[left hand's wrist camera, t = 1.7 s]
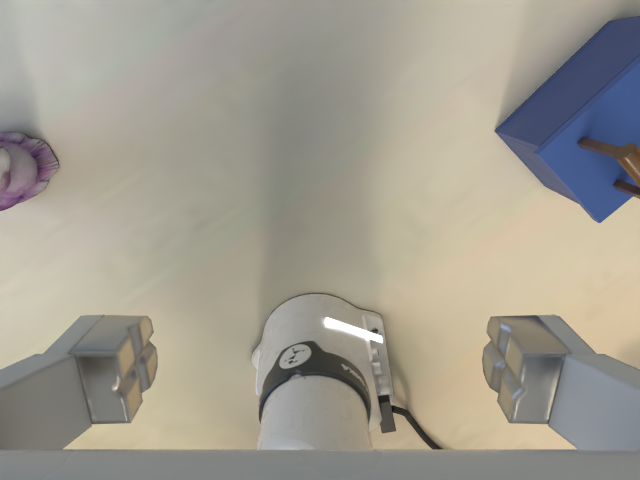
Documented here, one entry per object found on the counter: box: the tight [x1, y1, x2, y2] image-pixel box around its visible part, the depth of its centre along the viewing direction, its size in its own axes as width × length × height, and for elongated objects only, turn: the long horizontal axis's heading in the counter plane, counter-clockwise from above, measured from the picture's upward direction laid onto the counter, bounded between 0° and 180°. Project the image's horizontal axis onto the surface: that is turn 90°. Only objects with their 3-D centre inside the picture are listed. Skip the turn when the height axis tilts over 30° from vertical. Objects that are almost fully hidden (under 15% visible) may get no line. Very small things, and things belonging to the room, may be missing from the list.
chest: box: [495, 16, 640, 204], centre depth 43 cm, size 15×10×11 cm, turn 137°
